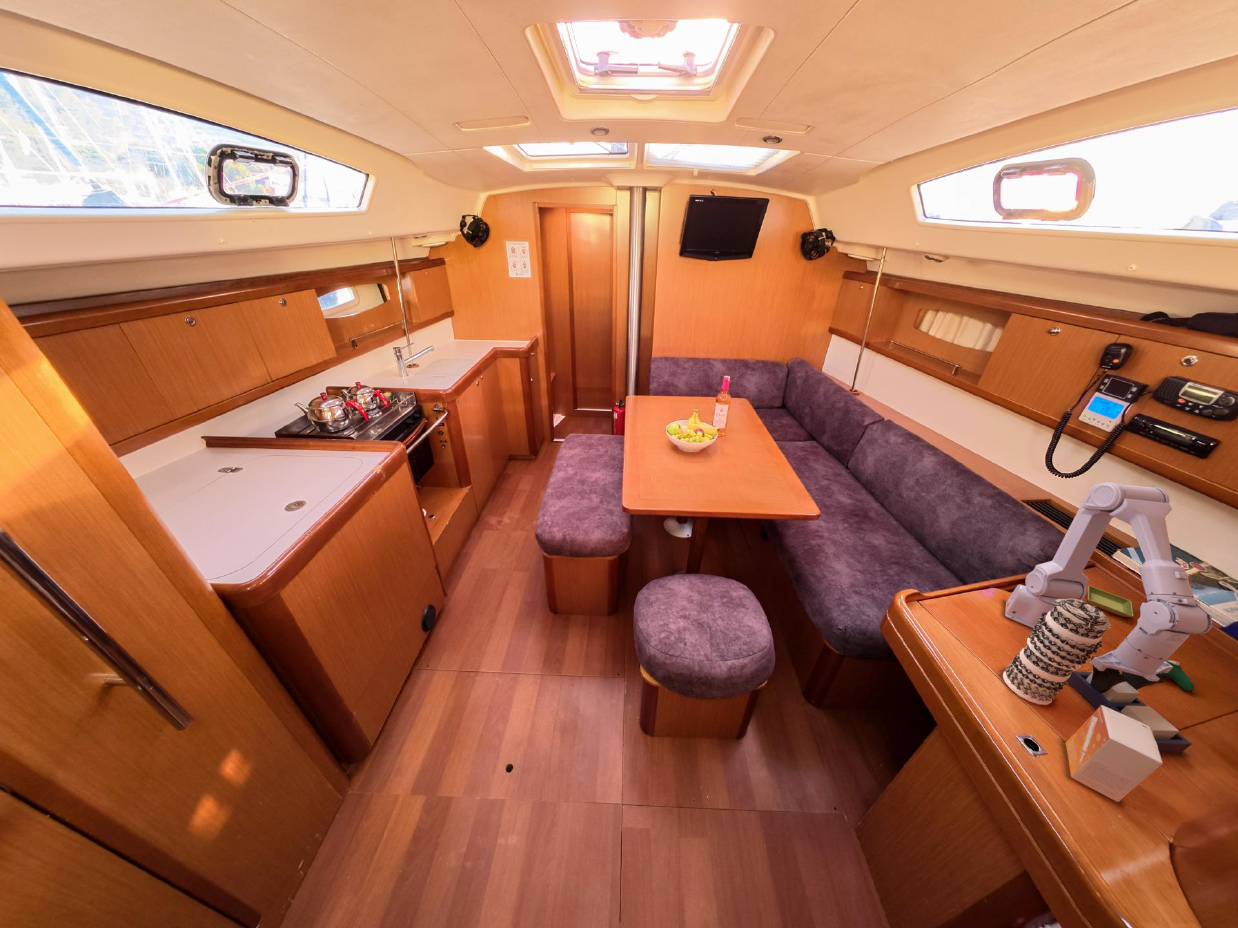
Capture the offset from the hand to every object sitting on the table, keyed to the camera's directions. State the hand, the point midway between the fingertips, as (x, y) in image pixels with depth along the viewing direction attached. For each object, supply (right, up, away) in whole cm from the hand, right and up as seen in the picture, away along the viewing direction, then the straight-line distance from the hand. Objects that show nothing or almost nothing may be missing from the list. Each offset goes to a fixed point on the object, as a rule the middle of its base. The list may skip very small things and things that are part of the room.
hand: (1108, 689), depth 88 cm
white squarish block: (0, -1, +1) cm, 1 cm away
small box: (-19, -9, -12) cm, 24 cm away
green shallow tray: (+32, +9, +27) cm, 43 cm away
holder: (0, -4, -2) cm, 5 cm away
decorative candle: (-15, -1, +3) cm, 16 cm away
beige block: (0, -5, -6) cm, 8 cm away
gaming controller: (+19, -1, +7) cm, 20 cm away
